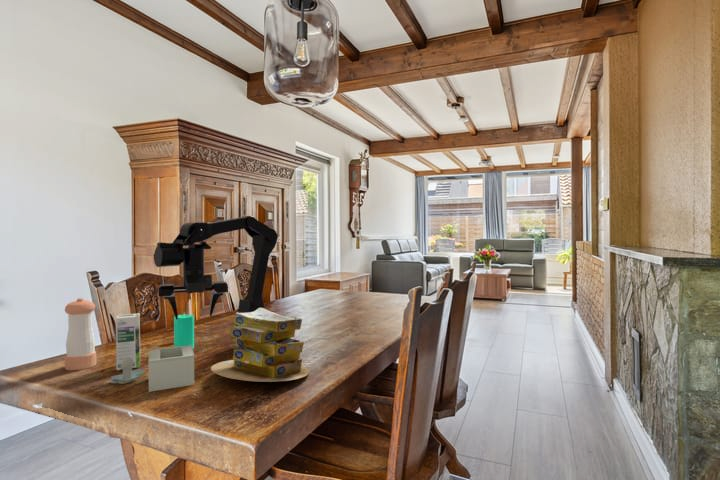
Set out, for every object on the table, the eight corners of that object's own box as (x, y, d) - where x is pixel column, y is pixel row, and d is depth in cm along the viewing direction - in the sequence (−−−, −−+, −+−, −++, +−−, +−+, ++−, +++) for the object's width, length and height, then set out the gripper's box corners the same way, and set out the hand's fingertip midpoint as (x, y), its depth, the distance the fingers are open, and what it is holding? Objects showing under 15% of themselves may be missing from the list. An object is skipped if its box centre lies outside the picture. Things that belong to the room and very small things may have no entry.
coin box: (191, 371, 108) (191, 345, 107) (194, 384, 99) (194, 355, 99) (149, 377, 103) (149, 350, 103) (148, 391, 94) (148, 361, 94)
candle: (186, 351, 126) (186, 313, 126) (170, 350, 127) (169, 312, 127) (198, 346, 132) (197, 310, 132) (181, 345, 133) (181, 309, 133)
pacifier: (104, 383, 100) (115, 388, 97) (103, 358, 100) (115, 362, 97) (134, 375, 106) (146, 379, 103) (134, 351, 106) (145, 354, 103)
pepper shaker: (68, 363, 114) (68, 297, 114) (98, 360, 117) (98, 295, 117) (61, 372, 107) (60, 301, 107) (93, 368, 110) (92, 299, 110)
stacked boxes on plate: (271, 355, 122) (270, 301, 122) (328, 374, 106) (327, 311, 106) (193, 377, 104) (192, 313, 103) (248, 404, 88) (247, 328, 87)
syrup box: (115, 371, 108) (115, 317, 108) (117, 364, 114) (117, 313, 113) (139, 367, 111) (139, 315, 111) (140, 361, 116) (140, 312, 116)
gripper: (158, 268, 106) (158, 326, 106) (230, 265, 115) (231, 319, 115) (158, 265, 116) (158, 318, 116) (225, 263, 124) (225, 312, 125)
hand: (193, 317), depth 118 cm, fingers open, 9 cm apart
